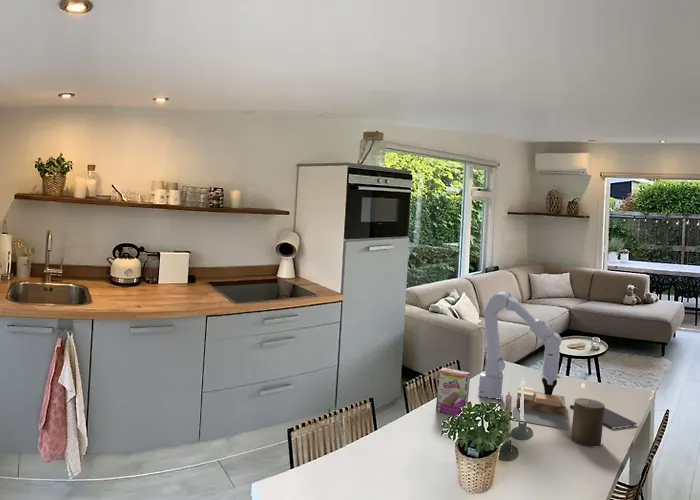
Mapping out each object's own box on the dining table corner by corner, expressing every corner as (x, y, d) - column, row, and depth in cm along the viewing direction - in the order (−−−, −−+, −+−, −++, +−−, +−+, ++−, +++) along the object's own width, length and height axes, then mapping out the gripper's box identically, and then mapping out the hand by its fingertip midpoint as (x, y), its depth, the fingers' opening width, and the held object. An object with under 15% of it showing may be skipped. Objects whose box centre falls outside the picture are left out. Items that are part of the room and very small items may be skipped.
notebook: (569, 409, 220) (611, 431, 200) (569, 405, 220) (612, 426, 200) (594, 406, 224) (637, 427, 204) (594, 402, 224) (637, 423, 204)
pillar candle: (598, 450, 182) (603, 406, 181) (568, 441, 187) (572, 399, 186) (602, 440, 191) (607, 398, 189) (573, 432, 196) (577, 392, 194)
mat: (511, 420, 204) (512, 419, 204) (513, 407, 216) (513, 407, 216) (569, 430, 197) (569, 429, 197) (567, 417, 210) (567, 416, 210)
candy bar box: (435, 412, 208) (438, 370, 206) (438, 407, 212) (441, 366, 211) (464, 418, 203) (467, 375, 201) (467, 413, 208) (470, 372, 206)
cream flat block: (533, 400, 214) (533, 395, 214) (517, 397, 216) (517, 392, 216) (533, 393, 223) (533, 388, 223) (518, 390, 225) (518, 385, 225)
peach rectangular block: (535, 402, 212) (536, 397, 212) (535, 397, 218) (536, 392, 217) (560, 406, 209) (560, 401, 209) (559, 401, 215) (560, 396, 214)
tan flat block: (516, 408, 216) (517, 398, 215) (517, 398, 227) (518, 389, 227) (564, 416, 210) (565, 406, 209) (563, 405, 221) (564, 396, 221)
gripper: (562, 370, 208) (559, 404, 209) (560, 360, 221) (557, 392, 223) (542, 367, 210) (539, 401, 211) (542, 357, 224) (539, 389, 225)
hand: (547, 396), depth 217 cm, fingers closed
